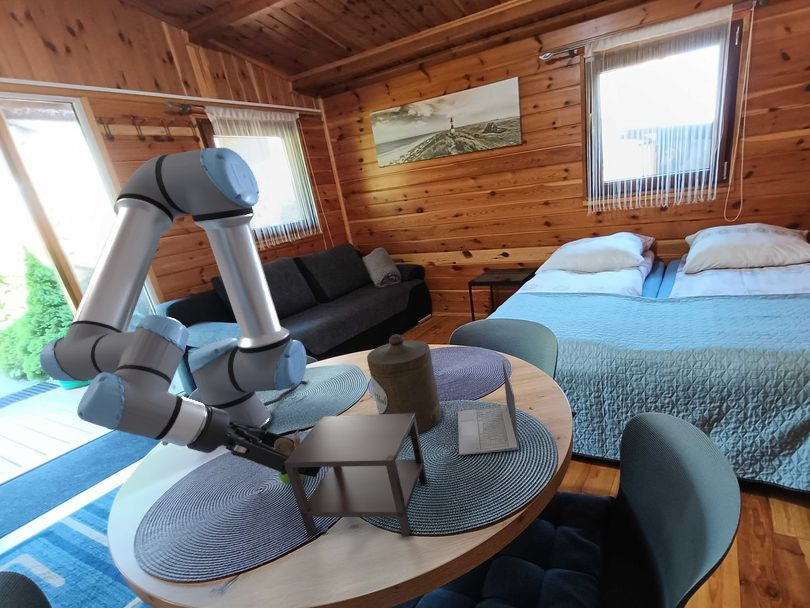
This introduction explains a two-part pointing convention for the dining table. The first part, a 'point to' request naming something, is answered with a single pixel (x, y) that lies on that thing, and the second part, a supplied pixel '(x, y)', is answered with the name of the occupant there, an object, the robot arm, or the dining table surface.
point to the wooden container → (405, 381)
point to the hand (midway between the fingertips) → (304, 457)
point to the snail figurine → (287, 448)
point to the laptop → (489, 426)
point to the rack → (358, 468)
